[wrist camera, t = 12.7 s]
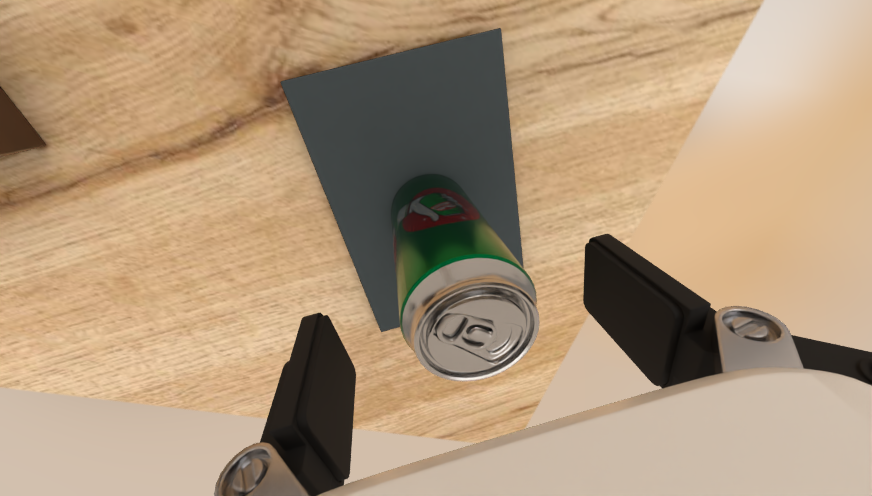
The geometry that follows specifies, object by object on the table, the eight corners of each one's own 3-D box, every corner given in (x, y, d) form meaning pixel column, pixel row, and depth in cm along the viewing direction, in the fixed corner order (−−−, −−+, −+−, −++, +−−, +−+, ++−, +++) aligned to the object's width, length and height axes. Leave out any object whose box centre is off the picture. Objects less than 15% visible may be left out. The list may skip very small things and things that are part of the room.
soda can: (443, 253, 23) (498, 401, 12) (377, 226, 21) (375, 372, 11) (480, 191, 21) (580, 301, 11) (411, 157, 19) (449, 247, 9)
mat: (282, 81, 17) (279, 81, 17) (497, 29, 18) (501, 27, 17) (381, 327, 26) (381, 332, 25) (523, 288, 26) (526, 292, 26)
